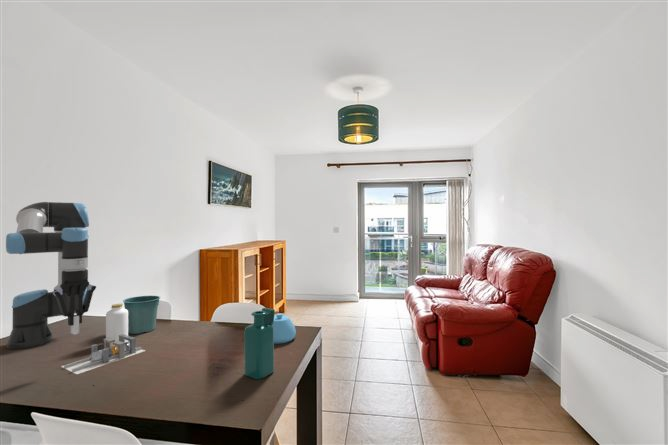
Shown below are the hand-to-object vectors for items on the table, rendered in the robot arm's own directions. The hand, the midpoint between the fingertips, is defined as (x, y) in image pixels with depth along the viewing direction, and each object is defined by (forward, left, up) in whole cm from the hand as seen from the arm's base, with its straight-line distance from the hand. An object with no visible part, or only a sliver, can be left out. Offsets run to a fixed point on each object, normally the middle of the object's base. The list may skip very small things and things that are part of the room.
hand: (75, 333), depth 117 cm
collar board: (+1, +10, -14) cm, 17 cm away
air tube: (+1, +12, -12) cm, 17 cm away
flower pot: (-24, +38, -14) cm, 47 cm away
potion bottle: (-13, +21, -14) cm, 28 cm away
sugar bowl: (+46, +62, -14) cm, 78 cm away
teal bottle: (+62, +32, -14) cm, 71 cm away
